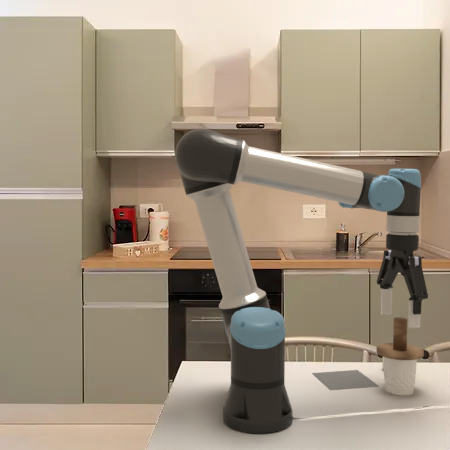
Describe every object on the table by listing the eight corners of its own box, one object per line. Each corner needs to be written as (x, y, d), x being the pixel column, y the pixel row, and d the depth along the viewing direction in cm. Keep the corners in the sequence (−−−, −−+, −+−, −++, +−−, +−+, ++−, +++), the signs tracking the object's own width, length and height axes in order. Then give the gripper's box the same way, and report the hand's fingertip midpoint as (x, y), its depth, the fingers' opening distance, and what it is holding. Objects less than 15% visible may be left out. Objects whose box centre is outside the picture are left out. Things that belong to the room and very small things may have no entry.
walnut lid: (390, 361, 136) (390, 325, 135) (368, 348, 146) (369, 315, 146) (432, 358, 138) (433, 322, 137) (408, 345, 149) (409, 312, 148)
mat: (330, 393, 143) (330, 390, 143) (311, 376, 156) (311, 373, 156) (379, 389, 146) (379, 386, 146) (357, 372, 158) (357, 369, 158)
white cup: (412, 388, 147) (413, 349, 146) (419, 399, 139) (420, 358, 138) (380, 387, 147) (380, 348, 147) (385, 398, 139) (386, 357, 139)
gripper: (446, 238, 129) (442, 333, 130) (391, 229, 153) (389, 309, 155) (415, 238, 127) (412, 334, 129) (365, 229, 151) (362, 310, 153)
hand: (399, 320), depth 142 cm, fingers open, 13 cm apart
